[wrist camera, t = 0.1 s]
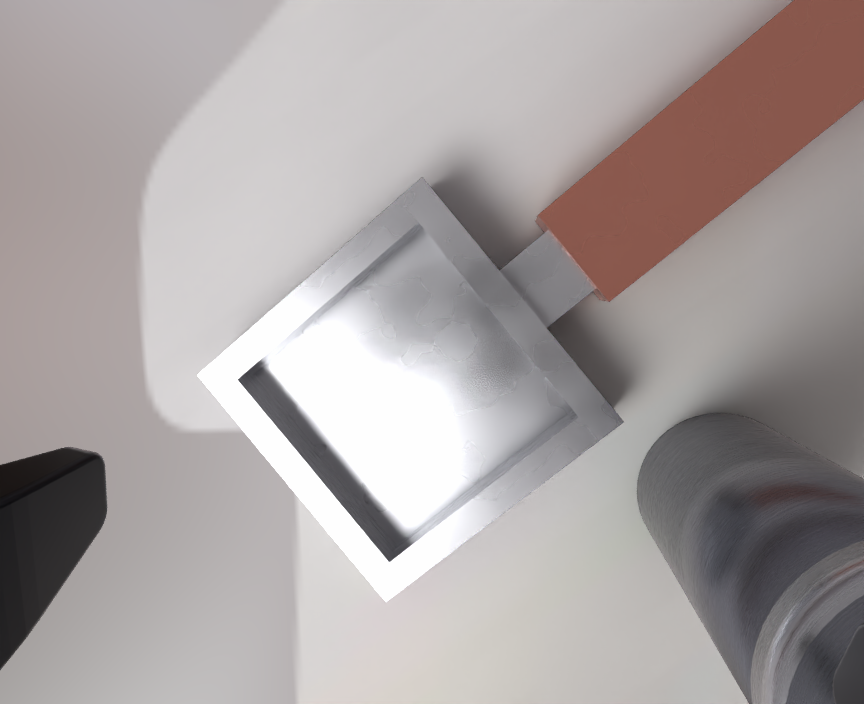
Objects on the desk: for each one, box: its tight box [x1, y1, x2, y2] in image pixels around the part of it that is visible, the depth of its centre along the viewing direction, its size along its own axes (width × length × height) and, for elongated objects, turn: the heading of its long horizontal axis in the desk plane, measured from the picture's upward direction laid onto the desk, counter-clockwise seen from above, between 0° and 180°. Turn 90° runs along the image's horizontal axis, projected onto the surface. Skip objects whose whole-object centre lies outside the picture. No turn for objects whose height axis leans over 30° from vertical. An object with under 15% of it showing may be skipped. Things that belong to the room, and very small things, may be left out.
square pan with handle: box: [197, 0, 864, 602], centre depth 21 cm, size 27×10×2 cm, turn 130°
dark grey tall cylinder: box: [637, 413, 864, 704], centre depth 16 cm, size 6×6×13 cm
